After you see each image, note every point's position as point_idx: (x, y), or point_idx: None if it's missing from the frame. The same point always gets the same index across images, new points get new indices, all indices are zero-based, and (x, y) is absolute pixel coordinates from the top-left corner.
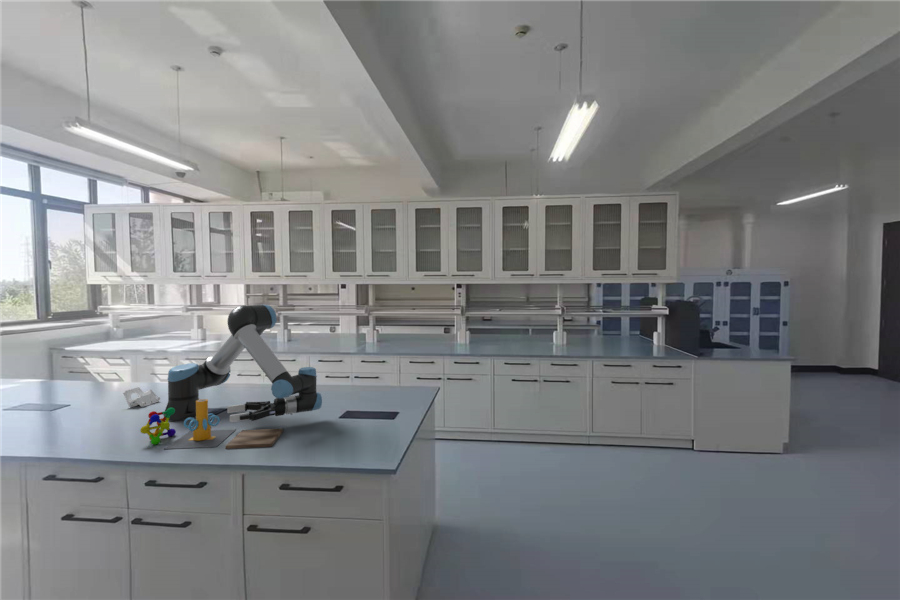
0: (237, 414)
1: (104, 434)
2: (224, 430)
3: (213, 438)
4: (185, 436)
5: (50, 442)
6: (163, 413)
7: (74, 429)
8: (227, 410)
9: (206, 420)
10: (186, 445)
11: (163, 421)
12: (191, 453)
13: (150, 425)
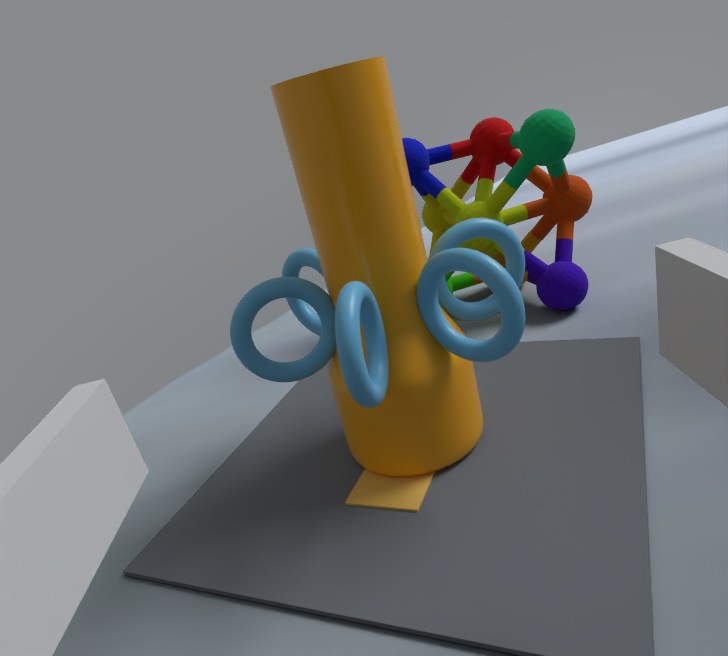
0: (20, 449)
1: (642, 188)
2: (623, 542)
3: (362, 504)
4: (515, 354)
5: (578, 170)
6: (513, 143)
7: (713, 144)
8: (663, 310)
9: (246, 301)
10: (313, 405)
11: (554, 198)
12: (147, 464)
13: (426, 199)
